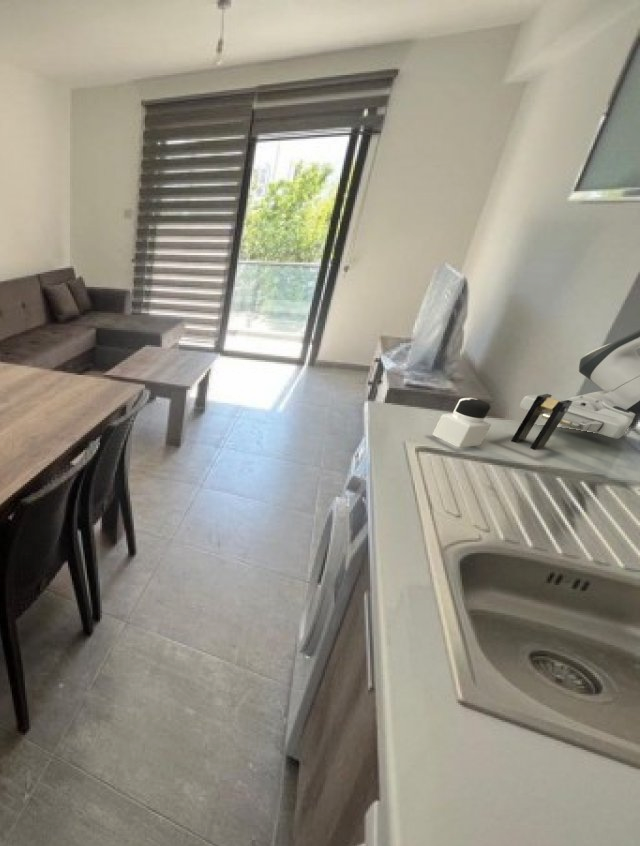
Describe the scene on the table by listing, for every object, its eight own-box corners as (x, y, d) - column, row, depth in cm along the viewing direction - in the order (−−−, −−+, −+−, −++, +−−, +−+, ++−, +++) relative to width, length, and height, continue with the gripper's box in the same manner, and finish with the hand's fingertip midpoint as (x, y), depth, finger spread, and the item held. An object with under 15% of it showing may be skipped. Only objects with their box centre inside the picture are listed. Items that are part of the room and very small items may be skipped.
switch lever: (540, 420, 124) (547, 412, 124) (567, 429, 120) (574, 420, 119) (532, 403, 117) (539, 394, 117) (560, 412, 113) (568, 403, 112)
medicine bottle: (477, 449, 119) (502, 405, 114) (456, 452, 118) (480, 407, 112) (450, 436, 125) (472, 394, 120) (429, 438, 124) (450, 395, 118)
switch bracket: (513, 438, 127) (542, 389, 120) (556, 453, 120) (589, 403, 113) (492, 443, 123) (521, 394, 116) (535, 460, 116) (568, 408, 109)
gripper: (541, 386, 133) (515, 392, 128) (645, 416, 117) (619, 424, 112) (529, 407, 136) (503, 413, 131) (628, 439, 120) (603, 447, 115)
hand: (557, 418), depth 121 cm, fingers open, 8 cm apart
